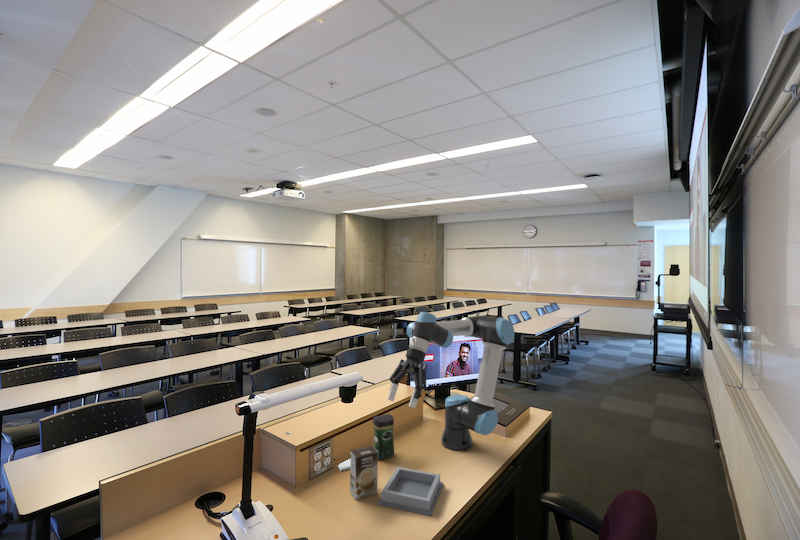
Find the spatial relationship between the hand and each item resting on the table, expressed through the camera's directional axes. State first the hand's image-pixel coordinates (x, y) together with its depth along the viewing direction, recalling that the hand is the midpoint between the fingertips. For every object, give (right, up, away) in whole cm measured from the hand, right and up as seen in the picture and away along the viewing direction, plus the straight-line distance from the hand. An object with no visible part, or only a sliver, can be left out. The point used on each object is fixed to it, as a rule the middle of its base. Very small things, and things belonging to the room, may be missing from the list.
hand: (400, 403), depth 143 cm
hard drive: (-25, -36, +25) cm, 50 cm away
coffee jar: (-8, -35, +31) cm, 47 cm away
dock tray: (+4, -35, +1) cm, 36 cm away
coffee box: (-14, -35, +2) cm, 38 cm away
